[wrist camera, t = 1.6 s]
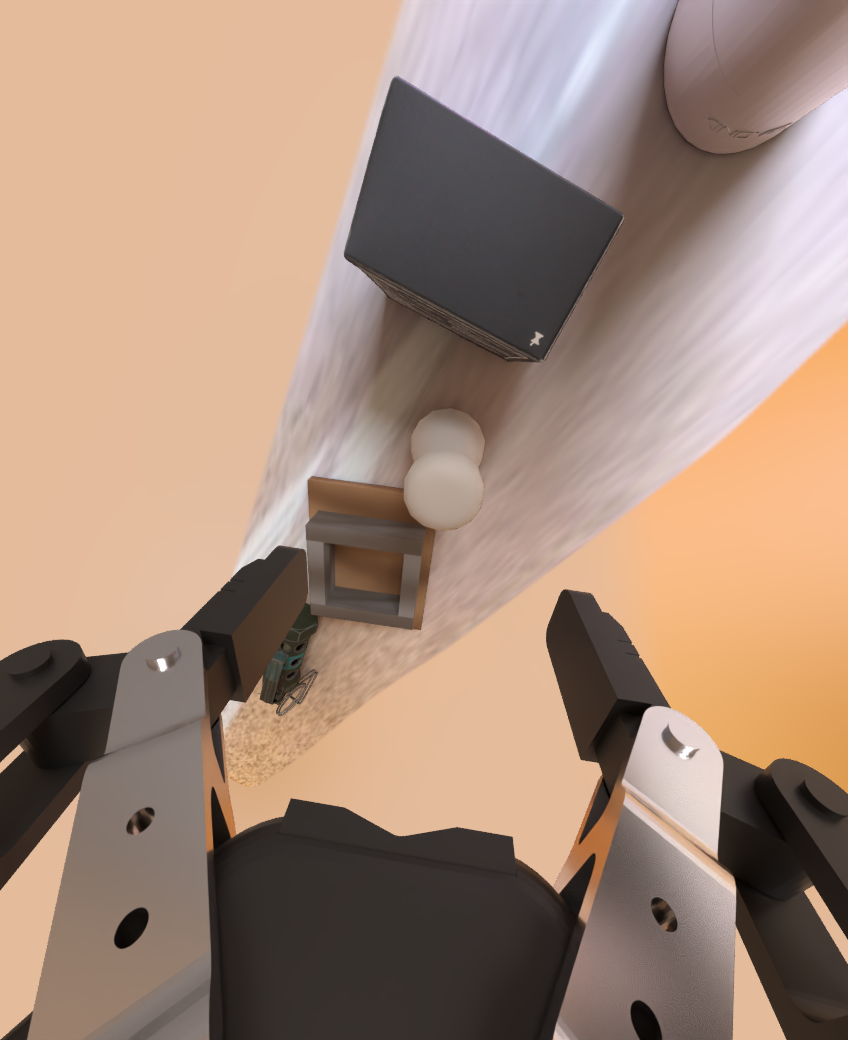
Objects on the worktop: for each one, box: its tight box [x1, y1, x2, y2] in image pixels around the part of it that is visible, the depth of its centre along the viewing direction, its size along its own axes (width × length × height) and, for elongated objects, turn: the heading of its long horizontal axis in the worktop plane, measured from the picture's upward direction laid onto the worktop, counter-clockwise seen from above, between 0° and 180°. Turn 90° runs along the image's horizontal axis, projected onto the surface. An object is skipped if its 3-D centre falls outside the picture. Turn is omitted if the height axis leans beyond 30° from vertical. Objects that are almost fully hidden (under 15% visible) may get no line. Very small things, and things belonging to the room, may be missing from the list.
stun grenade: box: [258, 603, 319, 716], centre depth 39 cm, size 6×6×14 cm
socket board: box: [306, 476, 435, 630], centre depth 33 cm, size 16×12×4 cm
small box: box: [344, 76, 624, 362], centre depth 19 cm, size 11×6×10 cm, turn 65°
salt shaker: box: [404, 408, 485, 531], centre depth 22 cm, size 6×6×13 cm
